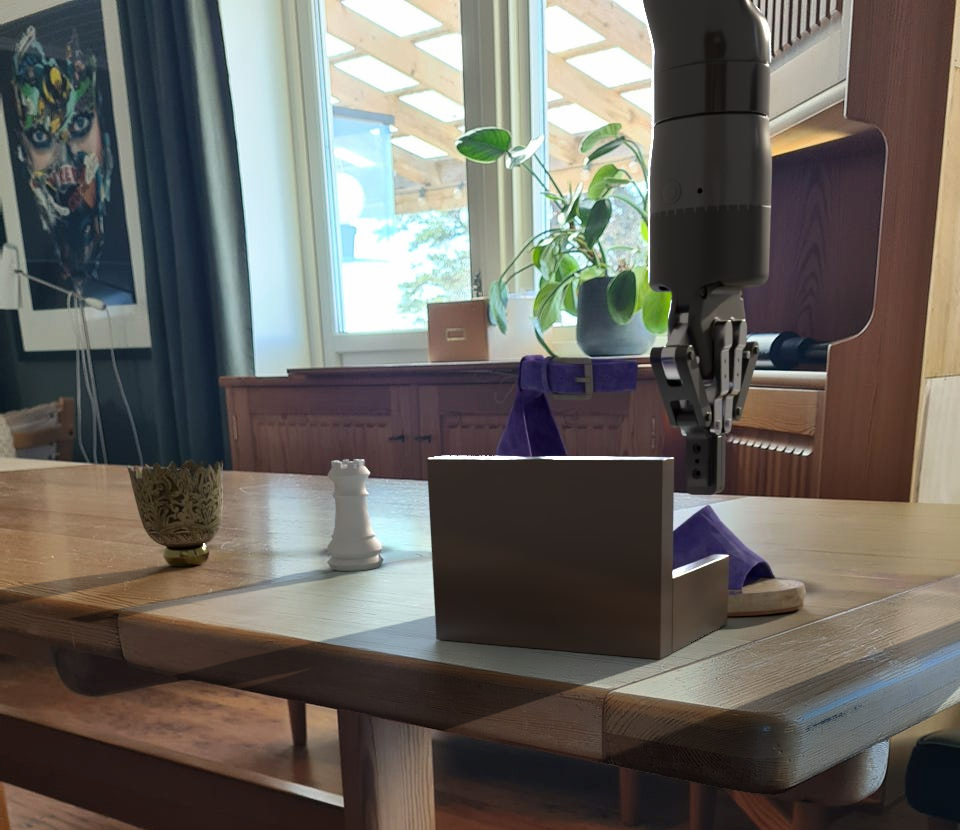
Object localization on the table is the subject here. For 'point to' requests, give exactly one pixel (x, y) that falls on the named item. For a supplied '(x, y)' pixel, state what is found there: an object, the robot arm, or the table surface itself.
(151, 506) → the cup
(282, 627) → the table surface
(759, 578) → the sandal
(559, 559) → the brown stepped block
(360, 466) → the rook chess piece
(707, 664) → the table surface
